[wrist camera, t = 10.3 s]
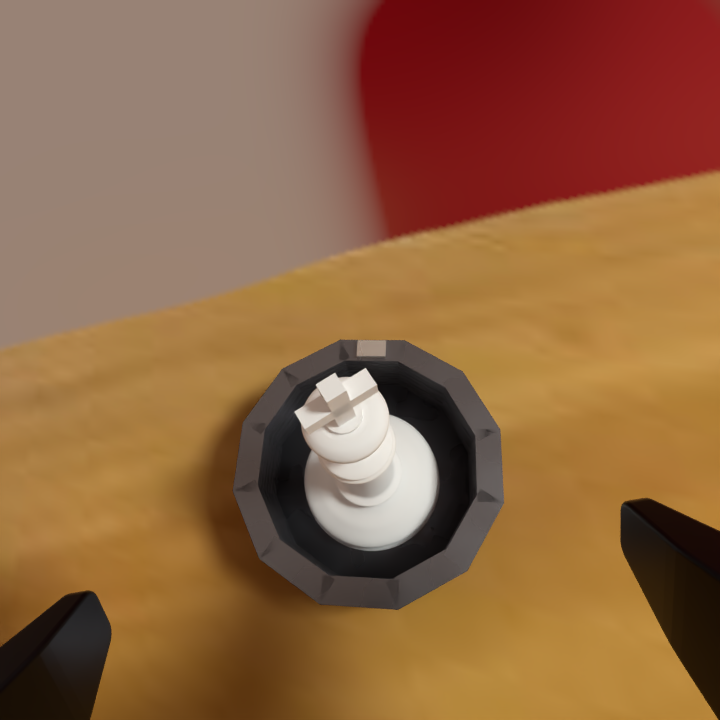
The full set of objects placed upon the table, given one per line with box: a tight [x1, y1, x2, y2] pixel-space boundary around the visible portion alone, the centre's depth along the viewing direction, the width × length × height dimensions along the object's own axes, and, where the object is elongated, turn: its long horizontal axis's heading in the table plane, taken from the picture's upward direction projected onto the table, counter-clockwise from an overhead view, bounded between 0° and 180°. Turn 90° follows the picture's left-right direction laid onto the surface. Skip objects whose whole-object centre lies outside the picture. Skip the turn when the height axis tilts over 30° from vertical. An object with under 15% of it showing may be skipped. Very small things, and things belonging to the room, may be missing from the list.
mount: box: [233, 340, 504, 610], centre depth 18 cm, size 9×9×4 cm
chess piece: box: [295, 368, 440, 551], centre depth 14 cm, size 5×5×10 cm
